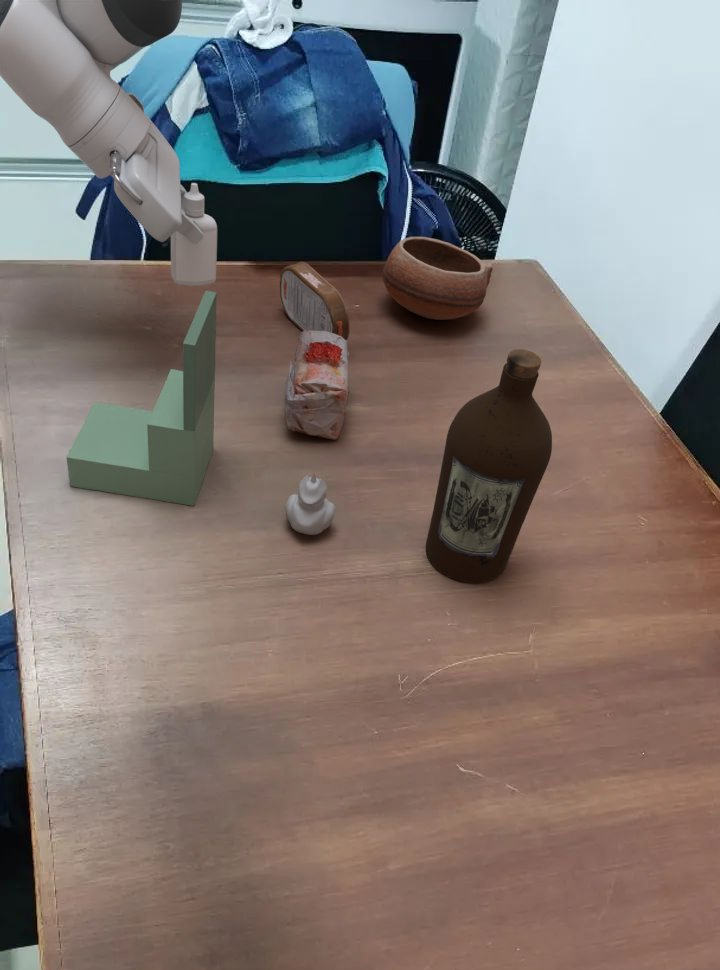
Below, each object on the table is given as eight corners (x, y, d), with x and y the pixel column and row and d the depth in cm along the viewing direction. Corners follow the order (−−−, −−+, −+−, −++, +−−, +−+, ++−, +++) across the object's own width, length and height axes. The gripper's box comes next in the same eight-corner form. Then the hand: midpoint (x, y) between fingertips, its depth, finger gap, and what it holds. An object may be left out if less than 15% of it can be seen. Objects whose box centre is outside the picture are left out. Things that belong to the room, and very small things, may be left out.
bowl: (498, 319, 142) (514, 256, 135) (437, 350, 133) (451, 285, 126) (420, 278, 148) (432, 216, 141) (357, 305, 139) (366, 240, 132)
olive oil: (434, 513, 108) (484, 316, 89) (520, 542, 106) (589, 348, 88) (407, 568, 100) (456, 367, 82) (499, 600, 99) (569, 402, 81)
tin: (347, 357, 129) (355, 300, 122) (328, 361, 127) (335, 304, 121) (292, 306, 136) (296, 250, 130) (273, 309, 135) (277, 253, 129)
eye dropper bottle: (210, 292, 116) (212, 195, 108) (167, 283, 117) (166, 185, 108) (219, 277, 120) (221, 182, 111) (177, 268, 120) (176, 172, 111)
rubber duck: (278, 537, 101) (283, 479, 95) (292, 501, 106) (298, 444, 100) (325, 548, 101) (334, 491, 95) (338, 512, 105) (346, 455, 100)
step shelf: (69, 486, 102) (49, 320, 87) (97, 430, 110) (83, 269, 95) (194, 506, 103) (195, 345, 88) (213, 449, 110) (216, 292, 96)
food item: (345, 447, 114) (355, 378, 107) (281, 441, 113) (287, 371, 106) (344, 387, 123) (353, 320, 116) (285, 381, 122) (291, 312, 115)
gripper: (130, 153, 96) (221, 251, 105) (133, 88, 110) (214, 180, 119) (89, 193, 99) (182, 285, 108) (98, 125, 112) (179, 212, 121)
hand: (199, 229), depth 113 cm, fingers closed on eye dropper bottle, 3 cm apart
